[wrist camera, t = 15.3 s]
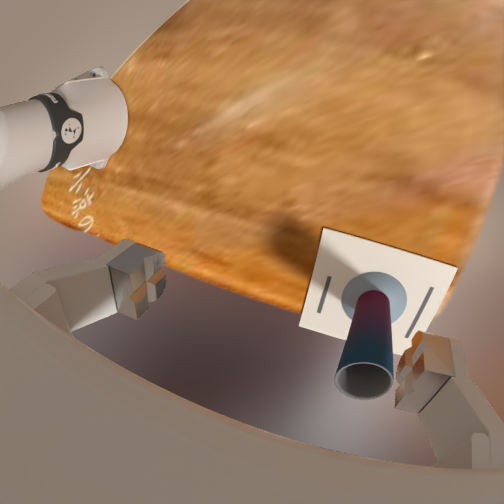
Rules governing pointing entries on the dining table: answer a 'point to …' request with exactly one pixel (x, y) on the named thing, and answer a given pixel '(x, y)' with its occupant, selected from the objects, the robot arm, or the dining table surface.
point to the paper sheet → (373, 286)
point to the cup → (367, 350)
